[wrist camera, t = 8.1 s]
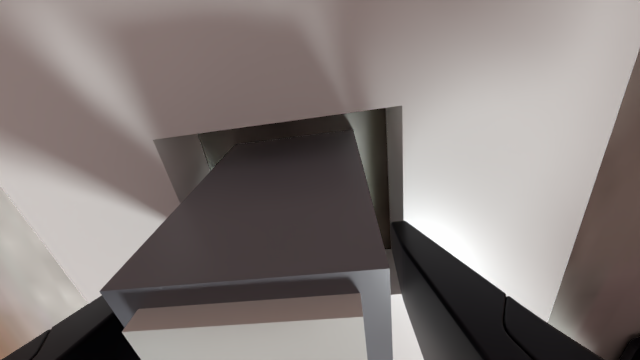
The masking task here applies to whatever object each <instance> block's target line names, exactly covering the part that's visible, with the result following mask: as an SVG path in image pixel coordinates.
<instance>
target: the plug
mask: <svg viewBox="0 0 640 360" xmlns="http://www.w3.org/2000/svg"><path fill="white" fill-rule="evenodd" d="M99 292H100V293H101V294H102V296H103V297H104V299H105V300H106V302H107V303H108V305H109V306H110V308H111V309H112V310H113V312H114V313H115V315H116V316H117V318H118V319H119V321H120V322H121V323H122V325H123V326H124V329H123V331H122V333H123V335H124V336H125V338H126V339H127V340H128V342H129V343H130V345H131V346H132V348H133V349H134V350H135V352H136V353H137V355H138V356H139V357H140V359H141V360H393V347H392V318H391V289H390V267H389V264H388V260H387V256H386V252H385V248H384V245H383V241H382V237H381V233H380V230H379V226H378V222H377V218H376V214H375V211H374V207H373V203H372V199H371V196H370V192H369V188H368V184H367V180H366V177H365V173H364V169H363V165H362V161H361V158H360V154H359V150H358V146H357V143H356V139H355V135H354V131H353V130H345V131H337V132H329V133H321V134H313V135H305V136H297V137H289V138H281V139H273V140H265V141H257V142H249V143H241V144H235V145H234V146H233V147H232V148H231V150H230V151H229V152H228V153H227V154H226V155H225V156H224V157H223V158H222V159H221V160H220V161H219V163H218V164H217V165H216V166H215V167H214V168H213V169H212V170H211V171H210V172H209V173H208V174H207V175H206V177H205V178H204V179H203V180H202V181H201V182H200V183H199V184H198V185H197V186H196V187H195V188H194V190H193V191H192V192H191V193H190V194H189V195H188V196H187V197H186V198H185V199H184V200H183V201H182V202H181V204H180V205H179V206H178V207H177V208H176V209H175V210H174V211H173V212H172V213H171V214H170V215H169V217H168V218H167V219H166V220H165V221H164V222H163V223H162V224H161V225H160V226H159V227H158V228H157V229H156V231H155V232H154V233H153V234H152V235H151V236H150V237H149V238H148V239H147V240H146V241H145V242H144V244H143V245H142V246H141V247H140V248H139V249H138V250H137V251H136V252H135V253H134V254H133V255H132V256H131V258H130V259H129V260H128V261H127V262H126V263H125V264H124V265H123V266H122V267H121V268H120V269H119V271H118V272H117V273H116V274H115V275H114V276H113V277H112V278H111V279H110V280H109V281H108V282H107V283H106V285H105V286H104V287H103V288H102V289H101V290H100V291H99Z"/></svg>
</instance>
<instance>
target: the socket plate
mask: <svg viewBox="0 0 640 360" xmlns="http://www.w3.org/2000/svg"><path fill="white" fill-rule="evenodd" d="M639 49H640V0H0V187H1V188H2V189H3V191H4V192H5V193H6V195H7V196H8V197H9V199H10V200H11V201H12V203H13V204H14V205H15V207H16V208H17V209H18V211H19V212H20V213H21V215H22V216H23V217H24V219H25V220H26V221H27V223H28V224H29V226H30V227H31V228H32V230H33V231H34V232H35V234H36V235H37V236H38V238H39V239H40V240H41V242H42V243H43V244H44V246H45V247H46V248H47V250H48V251H49V252H50V254H51V255H52V256H53V258H54V259H55V260H56V262H57V263H58V264H59V266H60V267H61V268H62V270H63V271H64V272H65V274H66V275H67V276H68V278H69V279H70V280H71V282H72V283H73V284H74V286H75V287H76V288H77V290H78V291H79V293H80V294H81V295H82V297H83V298H84V299H85V301H86V302H87V303H88V304H89V303H91V302H92V301H94V300H95V299H97V298H98V297H100V296H101V295H102V294H101V293H100V292H99V291H100V290H101V289H102V288H103V287H104V286H105V285H106V283H107V282H108V281H109V280H110V279H111V278H112V277H113V276H114V275H115V274H116V273H117V272H118V271H119V269H120V268H121V267H122V266H123V265H124V264H125V263H126V262H127V261H128V260H129V259H130V258H131V256H132V255H133V254H134V253H135V252H136V251H137V250H138V249H139V248H140V247H141V246H142V245H143V244H144V242H145V241H146V240H147V239H148V238H149V237H150V236H151V235H152V234H153V233H154V232H155V231H156V229H157V228H158V227H159V226H160V225H161V224H162V223H163V222H164V221H165V220H166V219H167V218H168V217H169V215H170V214H171V213H172V212H173V211H174V210H175V209H176V208H177V207H178V206H179V205H180V204H181V202H182V201H183V200H184V199H185V198H186V197H187V196H188V195H189V194H190V193H191V192H192V191H193V190H194V188H195V187H196V186H197V185H198V184H199V183H200V182H201V181H202V180H203V179H204V178H205V177H206V175H207V174H208V173H209V172H210V168H209V166H208V163H207V160H206V157H205V154H204V151H203V149H202V146H201V143H200V140H199V137H198V134H199V133H206V132H213V131H221V130H228V129H235V128H242V127H250V126H257V125H264V124H271V123H279V122H286V121H293V120H301V119H308V118H315V117H322V116H330V115H337V114H344V113H352V112H359V111H366V110H373V109H381V108H386V132H387V158H388V184H389V210H390V224H391V222H394V221H406V222H408V223H409V224H411V225H412V226H413V227H415V228H416V229H417V230H419V231H420V232H422V233H423V234H424V235H426V236H427V237H428V238H430V239H431V240H433V241H434V242H435V243H437V244H438V245H440V246H441V247H442V248H444V249H445V250H446V251H448V252H449V253H451V254H452V255H453V256H455V257H456V258H457V259H459V260H460V261H462V262H463V263H464V264H466V265H467V266H468V267H470V268H471V269H473V270H474V271H475V272H477V273H478V274H480V275H481V276H482V277H484V278H485V279H486V280H488V281H489V282H491V283H492V284H493V285H495V286H496V287H497V288H499V289H500V290H502V291H503V292H504V293H506V297H507V296H510V297H511V298H513V299H514V300H516V301H517V302H518V303H520V304H521V305H523V306H524V307H525V308H527V309H528V310H530V311H531V312H532V313H534V314H535V315H537V316H538V317H540V318H541V319H543V320H544V321H545V322H547V323H548V320H549V317H550V314H551V311H552V309H553V306H554V303H555V300H556V297H557V294H558V291H559V288H560V285H561V282H562V279H563V276H564V273H565V270H566V267H567V264H568V261H569V258H570V255H571V252H572V249H573V246H574V243H575V240H576V237H577V234H578V231H579V228H580V225H581V222H582V219H583V216H584V213H585V210H586V207H587V204H588V201H589V198H590V195H591V192H592V189H593V186H594V183H595V180H596V177H597V174H598V171H599V168H600V165H601V162H602V159H603V156H604V153H605V150H606V147H607V145H608V142H609V139H610V136H611V133H612V130H613V127H614V124H615V121H616V118H617V115H618V112H619V109H620V106H621V103H622V100H623V97H624V94H625V91H626V88H627V85H628V82H629V79H630V76H631V73H632V70H633V67H634V64H635V61H636V58H637V55H638V52H639ZM390 237H391V230H390ZM385 252H386V256H387V260H388V264H389V267H390V289H391V318H392V347H393V360H424V358H423V355H422V353H421V350H420V347H419V344H418V341H417V339H416V336H415V333H414V330H413V327H412V324H411V322H410V319H409V316H408V313H407V310H406V307H405V304H404V301H403V298H402V294H401V290H400V285H399V281H398V276H397V272H396V267H395V263H394V258H393V254H392V248H391V249H385Z"/></svg>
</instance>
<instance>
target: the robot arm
mask: <svg viewBox="0 0 640 360" xmlns="http://www.w3.org/2000/svg"><path fill="white" fill-rule="evenodd" d="M390 230H391V248H392V254H393V258H394V263H395V267H396V272H397V276H398V281H399V285H400V290H401V294H402V298H403V301H404V304H405V307H406V310H407V313H408V316H409V319H410V322H411V324H412V327H413V330H414V333H415V336H416V339H417V341H418V344H419V347H420V350H421V353H422V355H423V358H424V360H604V359H603V358H601V357H600V356H598V355H596V354H595V353H593V352H592V351H590V350H588V349H587V348H585V347H584V346H582V345H581V344H579V343H577V342H576V341H574V340H573V339H571V338H570V337H568V336H567V335H565V334H563V333H562V332H560V331H559V330H557V329H556V328H554V327H553V326H551V325H550V324H548V323H547V322H545V321H544V320H543V319H541V318H540V317H538V316H537V315H535V314H534V313H532V312H531V311H530V310H528V309H527V308H525V307H524V306H523V305H521V304H520V303H518V302H517V301H516V300H514V299H513V298H511V297H510V296H507V297H506V293H504V292H503V291H502V290H500V289H499V288H497V287H496V286H495V285H493V284H492V283H491V282H489V281H488V280H486V279H485V278H484V277H482V276H481V275H480V274H478V273H477V272H475V271H474V270H473V269H471V268H470V267H468V266H467V265H466V264H464V263H463V262H462V261H460V260H459V259H457V258H456V257H455V256H453V255H452V254H451V253H449V252H448V251H446V250H445V249H444V248H442V247H441V246H440V245H438V244H437V243H435V242H434V241H433V240H431V239H430V238H428V237H427V236H426V235H424V234H423V233H422V232H420V231H419V230H417V229H416V228H415V227H413V226H412V225H411V224H409V223H408V222H406V221H394V222H391V224H390ZM123 329H124V326H123V325H122V323H121V322H120V321H119V319H118V318H117V316H116V315H115V313H114V312H113V310H112V309H111V308H110V306H109V305H108V303H107V302H106V300H105V299H104V297H103V296H102V295H101V296H100V297H98V298H97V299H95V300H94V301H92V302H91V303H89V304H87V305H86V306H84V307H83V308H81V309H80V310H78V311H77V312H75V313H74V314H72V315H70V316H69V317H67V318H66V319H64V320H63V321H61V322H60V323H58V324H57V325H55V326H53V327H52V329H51V330H47V331H46V332H44V333H43V334H41V335H39V336H38V337H36V338H35V339H33V340H32V341H30V342H29V343H27V344H25V345H24V346H22V347H21V348H19V349H18V350H16V351H14V352H13V353H11V354H10V355H8V356H7V357H5V358H3V359H2V360H141V359H140V357H139V356H138V355H137V353H136V352H135V350H134V349H133V348H132V346H131V345H130V343H129V342H128V340H127V339H126V338H125V336H124V335H123V333H122V331H123ZM620 360H640V337H637V338H635V339H633V340H631V341H630V342H629V344H628V345H627V347H626V349H625V351H624V353H623V354H622V356H621V358H620Z"/></svg>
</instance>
